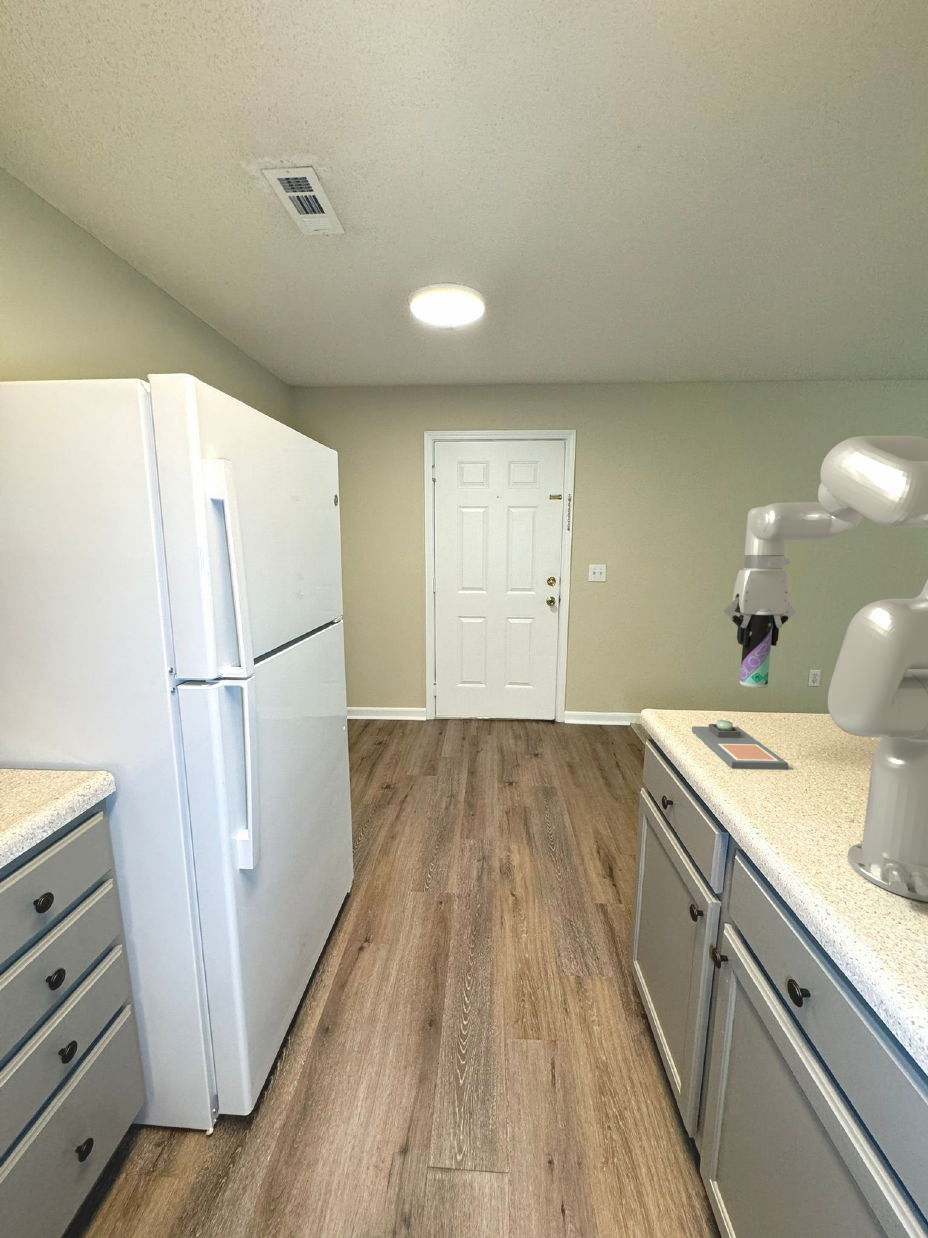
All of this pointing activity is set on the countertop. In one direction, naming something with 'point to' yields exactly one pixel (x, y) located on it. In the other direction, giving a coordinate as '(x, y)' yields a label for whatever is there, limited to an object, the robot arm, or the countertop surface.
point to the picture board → (738, 748)
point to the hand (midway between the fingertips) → (756, 643)
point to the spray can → (757, 650)
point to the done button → (724, 725)
